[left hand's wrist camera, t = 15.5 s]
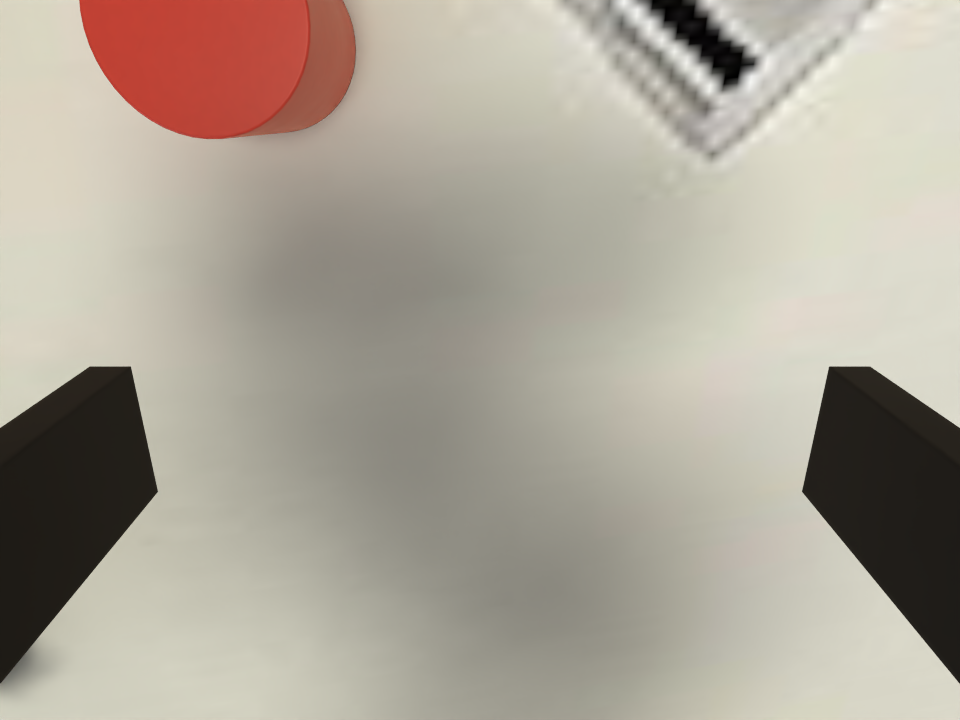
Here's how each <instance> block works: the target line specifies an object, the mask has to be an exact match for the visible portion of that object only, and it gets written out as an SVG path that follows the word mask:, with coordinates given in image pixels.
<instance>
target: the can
mask: <svg viewBox="0 0 960 720" xmlns="http://www.w3.org/2000/svg"><path fill="white" fill-rule="evenodd" d="M79 1H80V12H81V17H82V22H83V26H84V30H85V33H86V36H87V39H88V43H89V45H90V48H91V50H92V52H93V54H94V57H95V59H96V61H97V62H98V64H99V66H100V68H101V69H102V71H103V73H104V74H105V76H106V77H107V79H108V80H109V81H110V83H111V84H112V85H113V87H114V88H115V89H116V90H117V91H118V93H119V94H120V95H121V96H122V97H123V98H124V99H125V100H126V101H127V102H128V103H129V104H130V105H131V106H132V107H134V108H135V109H136V110H137V111H138V112H140V113H141V114H142V115H144V116H145V117H147V118H148V119H150V120H151V121H153V122H155V123H156V124H158V125H160V126H162V127H164V128H166V129H168V130H171V131H174V132H176V133H179V134H182V135H186V136H190V137H195V138H203V139H225V138H235V137H244V136H254V135H264V134H274V133H284V132H292V131H298V130H301V129H304V128H308V127H310V126H312V125H314V124H316V123H318V122H319V121H321V120H322V119H324V118H325V117H326V116H328V115H329V114H330V113H331V112H332V111H333V110H334V109H335V108H336V106H337V105H338V104H339V103H340V101H341V100H342V98H343V96H344V95H345V93H346V91H347V89H348V86H349V84H350V81H351V78H352V75H353V70H354V65H355V52H356V48H355V36H354V31H353V26H352V23H351V19H350V16H349V13H348V11H347V9H346V7H345V4H344V2H343V0H79Z"/></svg>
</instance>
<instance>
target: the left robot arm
mask: <svg viewBox="0 0 960 720" xmlns="http://www.w3.org/2000/svg"><path fill="white" fill-rule="evenodd" d="M157 492H158V490H157V485H156V481H155V476H154V472H153V467H152V462H151V458H150V453H149V449H148V444H147V439H146V435H145V430H144V426H143V421H142V416H141V412H140V407H139V402H138V398H137V393H136V389H135V384H134V379H133V375H132V370H131V367H89V368H87V369H86V370H84V371H83V372H81V373H80V374H79V375H77V376H76V377H74V378H73V379H71V380H70V381H68V382H67V383H65V384H64V385H62V386H61V387H60V388H58V389H57V390H55V391H54V392H52V393H51V394H49V395H48V396H46V397H45V398H43V399H42V400H41V401H39V402H38V403H36V404H35V405H33V406H32V407H30V408H29V409H27V410H26V411H24V412H23V413H22V414H20V415H19V416H17V417H16V418H14V419H13V420H11V421H10V422H8V423H7V424H5V425H4V426H3V427H1V428H0V683H1V682H2V681H3V680H4V678H5V677H6V676H7V675H8V674H9V672H10V671H11V670H12V669H13V667H14V666H15V665H16V664H17V663H18V661H19V660H20V659H21V658H22V657H23V655H24V654H25V653H26V652H27V650H28V649H29V648H30V647H31V646H32V644H33V643H34V642H35V641H36V639H37V638H38V637H39V636H40V635H41V633H42V632H43V631H44V630H45V629H46V627H47V626H48V625H49V624H50V622H51V621H52V620H53V619H54V618H55V616H56V615H57V614H58V613H59V611H60V610H61V609H62V608H63V607H64V605H65V604H66V603H67V602H68V601H69V599H70V598H71V597H72V596H73V594H74V593H75V592H76V591H77V590H78V588H79V587H80V586H81V585H82V583H83V582H84V581H85V580H86V579H87V577H88V576H89V575H90V574H91V573H92V571H93V570H94V569H95V568H96V566H97V565H98V564H99V563H100V562H101V560H102V559H103V558H104V557H105V555H106V554H107V553H108V552H109V551H110V549H111V548H112V547H113V546H114V545H115V543H116V542H117V541H118V540H119V538H120V537H121V536H122V535H123V534H124V532H125V531H126V530H127V529H128V527H129V526H130V525H131V524H132V523H133V521H134V520H135V519H136V518H137V517H138V515H139V514H140V513H141V512H142V510H143V509H144V508H145V507H146V506H147V504H148V503H149V502H150V501H151V499H152V498H153V497H154V496H155V495H156V493H157ZM802 492H803V493H804V495H805V496H806V497H807V498H808V499H809V501H810V502H811V503H812V504H813V506H814V507H815V508H816V509H817V510H818V512H819V513H820V514H821V515H822V517H823V518H824V519H825V520H826V521H827V523H828V524H829V525H830V526H831V527H832V529H833V530H834V531H835V532H836V534H837V535H838V536H839V537H840V538H841V540H842V541H843V542H844V543H845V545H846V546H847V547H848V548H849V549H850V551H851V552H852V553H853V554H854V555H855V557H856V558H857V559H858V560H859V562H860V563H861V564H862V565H863V566H864V568H865V569H866V570H867V571H868V573H869V574H870V575H871V576H872V577H873V579H874V580H875V581H876V582H877V583H878V585H879V586H880V587H881V588H882V590H883V591H884V592H885V593H886V594H887V596H888V597H889V598H890V599H891V601H892V602H893V603H894V604H895V605H896V607H897V608H898V609H899V610H900V611H901V613H902V614H903V615H904V616H905V618H906V619H907V620H908V621H909V622H910V624H911V625H912V626H913V627H914V629H915V630H916V631H917V632H918V633H919V635H920V636H921V637H922V638H923V639H924V641H925V642H926V643H927V644H928V646H929V647H930V648H931V649H932V650H933V652H934V653H935V654H936V655H937V657H938V658H939V659H940V660H941V661H942V663H943V664H944V665H945V666H946V667H947V669H948V670H949V671H950V672H951V674H952V675H953V676H954V677H955V678H956V680H957V681H958V682H959V683H960V428H959V427H957V426H956V425H955V424H953V423H952V422H950V421H949V420H947V419H946V418H944V417H943V416H941V415H940V414H938V413H937V412H936V411H934V410H933V409H931V408H930V407H928V406H927V405H925V404H924V403H922V402H921V401H919V400H918V399H917V398H915V397H914V396H912V395H911V394H909V393H908V392H906V391H905V390H903V389H902V388H900V387H899V386H898V385H896V384H895V383H893V382H892V381H890V380H889V379H887V378H886V377H884V376H883V375H881V374H880V373H879V372H877V371H876V370H874V369H873V368H871V367H829V370H828V375H827V379H826V384H825V389H824V393H823V398H822V402H821V407H820V412H819V416H818V421H817V426H816V430H815V435H814V439H813V444H812V449H811V453H810V458H809V462H808V467H807V472H806V476H805V481H804V485H803V490H802Z"/></svg>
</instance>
